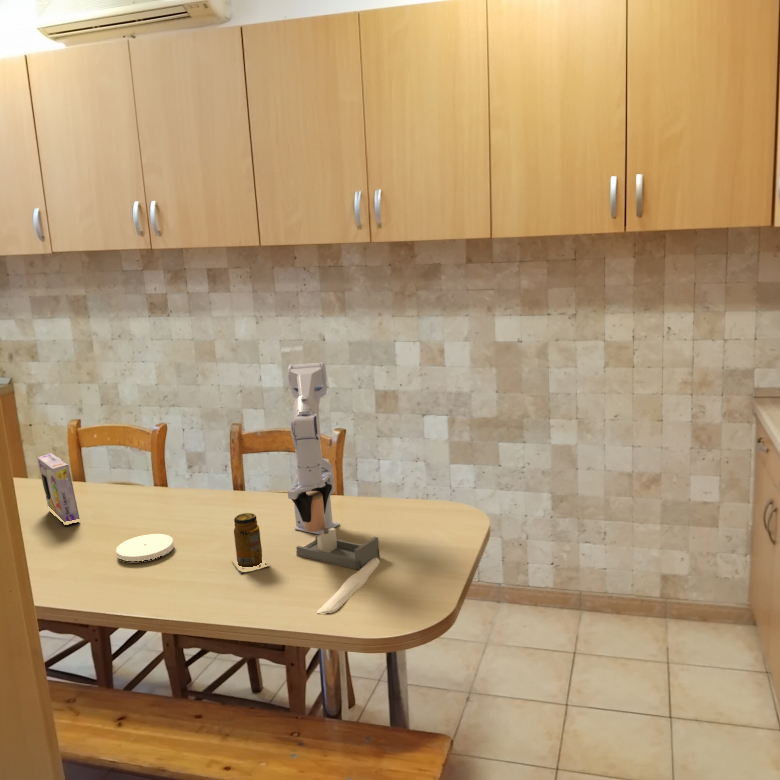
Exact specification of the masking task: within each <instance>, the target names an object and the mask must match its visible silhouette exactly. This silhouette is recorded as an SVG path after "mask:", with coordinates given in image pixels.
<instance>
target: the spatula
mask: <svg viewBox="0 0 780 780" xmlns="http://www.w3.org/2000/svg"><path fill="white" fill-rule="evenodd" d="M379 559H380V558H373V559H372V560H370V561H369V562H368V563H367V564H366V565H365V566H364V567H362V568H361V569H360V570H357V571H356V572H355V573H353V574H352V575H350V576H349V577H348V578H347V579H346V580H345V581H344V582H343V583H342V584H341V586H340V587H339V589H338V590H337V591H336V592H335V593H334V594H333V595H332V596H331V597H330V598H329V599H328V600H327V601H326V602H324V604H323V605H322V606H320V607H319V609H317V611H316V612H317V613H323V614H324V613H330V614H332V613H335V612H336V611H338V610H339V609H340V608H341V607H342V606H344V605H345V604H346V603H347V602H348V601H349V600H350V599H351V598H352V597H351V595H352V594H354V592H355V591H356V590H357V589H358V590H359V589H361V587H362V586H363V585H364V584H365V583H366V582H367V581H368V579H369V577H370V575H371V574H372V573H373V572H374V571H375V570H376V568H378V566H379V565H380V560H379ZM358 590H357V591H358ZM357 591H356V592H357ZM356 592H355V593H356ZM354 595H355V594H354ZM348 599H349V600H348ZM347 600H348V601H347ZM346 601H347V602H346ZM345 602H346V603H345ZM344 603H345V604H344ZM343 604H344V605H343Z"/></svg>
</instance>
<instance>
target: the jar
mask: <svg viewBox="0 0 780 780" xmlns="http://www.w3.org/2000/svg"><path fill="white" fill-rule="evenodd" d="M306 494H308V496H313V499H312V503H311V522H309V523H308V522H304V523H305V530H307V531H310V532H315V531H320V530H323V529H324V528H325V527H326V526H325V515H324V504H323V495H322V493H321V492H319V491H310V492H306ZM310 532H309V533H310Z"/></svg>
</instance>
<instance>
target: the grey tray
mask: <svg viewBox="0 0 780 780" xmlns="http://www.w3.org/2000/svg"><path fill="white" fill-rule="evenodd" d="M317 536H319V534H315V536H314V538H315V539H313V540H311V541H310V542H308V543H306V544H304V545H302V546H301V545H297V546H296V547H295V548H296V550H295V555H296V556H297V557H303V558H306V559H310V560H315V561H319V562H323V563H328V564H332V565H335V566H340V567H344V568H349V569H352V570H356V571H359V570H360V569H361V568H362V567H364V566H365V565H366V564H367V563H368V562H369V561H370V560H372V559H373V558H378V559H380V556H381V555H380V543H379V537H378V536H373V537H372V538H370V539H368V540H366V541H365V542H363V543H355V542H353V541H352V542H351V541H347V540H343V539H337V538H336V539H337V548H336V549H335V550H333V551H331V552H330V553H328V552H323V551H319V550H318V544H317Z"/></svg>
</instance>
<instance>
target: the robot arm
mask: <svg viewBox="0 0 780 780" xmlns="http://www.w3.org/2000/svg"><path fill="white" fill-rule="evenodd" d="M287 377H288V384H289V385H288V386H289V387H290V392H291V394H292V398H295V400H294V403H293V418H291V420H290V434H291V438H292V443H293V448H294V450H295V462H296V468H295V485H294V486H293V487H291V488H290V489H288V490H287V497H288V499H289V500H291V501H292V503H294V515H295V527H294V530H297V531H302V532H307V533H311V534H315V535H321V534H322V533H324V530H320V531H315V532H310V531H307V530H305V523H304V522H308V523H309V522H311V503H312V499H313V496H308V494H306V492H310V491H319V492H321V493H322V495H323V504H324V515H325V526H326V527H325V528H328V530H329V529H331V528H334V529H336V527H338V526H340V522H338V521H333V511H332V501H331V500H332V499H331V495H333V494H334V493H335V490H336V489H335V477H334V470H333V466H332V463H330V462H329V461H327V460H326V459H324V458H323V457H322V456H323V455H322V445H321V444H322V442H321V425H320V424H321V423H320V422H321V421H320V402H321V398H323V397H324V396H327V390H328V386H327V385H328V383H327V367H326V363H324V362H323V361H321V362H312V363H299V364H292V363H291V364H289V365H288V367H287Z"/></svg>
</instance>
